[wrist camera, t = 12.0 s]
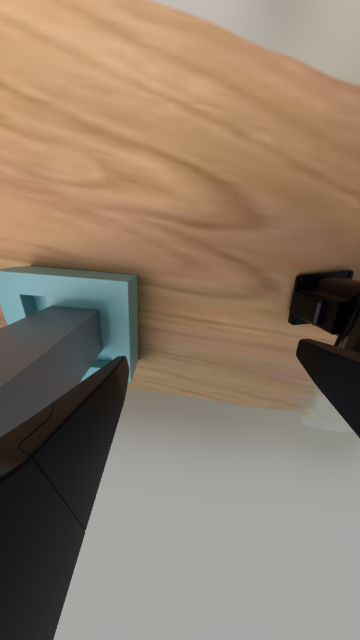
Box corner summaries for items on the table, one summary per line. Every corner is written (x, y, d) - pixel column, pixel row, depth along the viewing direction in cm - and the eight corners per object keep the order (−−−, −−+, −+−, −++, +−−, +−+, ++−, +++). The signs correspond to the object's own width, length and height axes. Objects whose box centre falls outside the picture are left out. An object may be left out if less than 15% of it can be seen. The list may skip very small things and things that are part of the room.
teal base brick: (137, 275, 20) (127, 281, 16) (138, 360, 24) (130, 382, 20) (29, 265, 19) (-12, 270, 15) (51, 355, 23) (25, 377, 19)
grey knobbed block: (99, 309, 18) (-51, 428, 6) (103, 349, 20) (-5, 499, 8) (50, 305, 18) (-210, 424, 6) (59, 346, 20) (-122, 499, 8)
